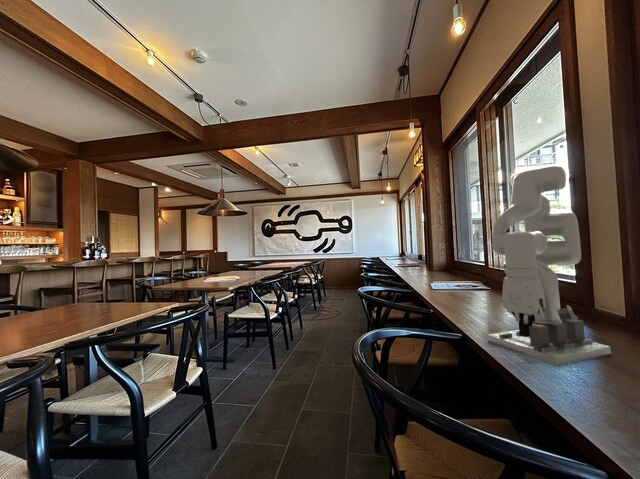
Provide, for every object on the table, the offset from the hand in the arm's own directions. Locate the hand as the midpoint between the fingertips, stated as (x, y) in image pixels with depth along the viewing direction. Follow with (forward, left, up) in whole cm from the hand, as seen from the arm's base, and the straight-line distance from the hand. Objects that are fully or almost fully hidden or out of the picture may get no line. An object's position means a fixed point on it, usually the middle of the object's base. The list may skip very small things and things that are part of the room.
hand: (526, 335), depth 81 cm
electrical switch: (-25, -4, -5) cm, 26 cm away
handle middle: (-7, +4, -2) cm, 8 cm away
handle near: (-14, +4, -2) cm, 15 cm away
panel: (-7, 0, -4) cm, 8 cm away
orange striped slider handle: (0, +4, -2) cm, 4 cm away
